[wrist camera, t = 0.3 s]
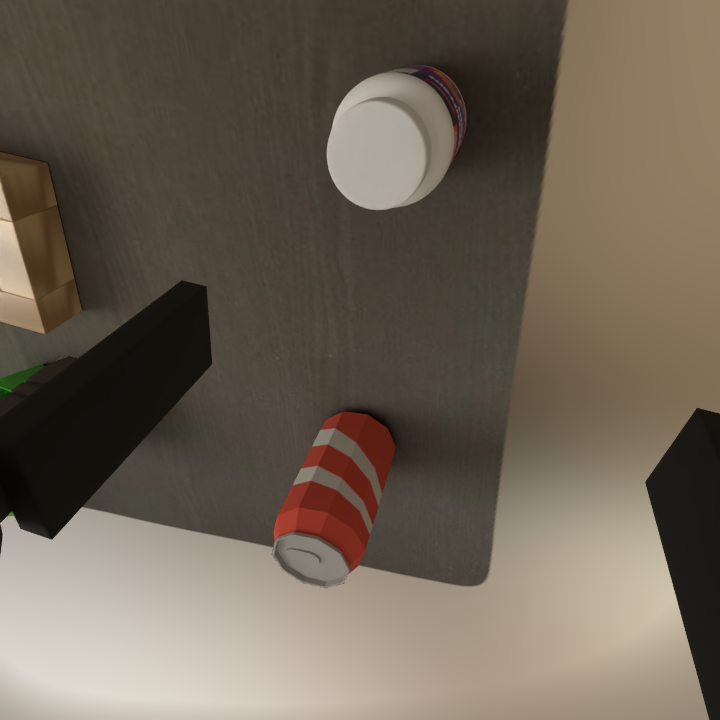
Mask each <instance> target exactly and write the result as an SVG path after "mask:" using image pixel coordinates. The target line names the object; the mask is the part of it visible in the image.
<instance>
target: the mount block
mask: <svg viewBox="0 0 720 720" xmlns="http://www.w3.org/2000/svg"><path fill="white" fill-rule="evenodd" d="M81 311H82V309H81V304H80V300H79V296H78V292H77V287H76V283H75V279H74V275H73V271H72V266H71V262H70V258H69V253H68V249H67V245H66V240H65V236H64V232H63V227H62V223H61V219H60V215H59V210H58V206H57V201H56V197H55V193H54V188H53V184H52V180H51V176H50V171H49V167H48V163H46V162H41V161H37V160H33V159H28V158H24V157H20V156H15V155H11V154H7V153H2V152H0V321H1V322H5V323H8V324H12V325H15V326H19V327H22V328H26V329H29V330H33V331H36V332H40V333H43V334H46V333H48V332H50V331H51V330H53V329H54V328H56V327H57V326H59V325H60V324H62V323H64V322H65V321H67V320H68V319H70V318H71V317H73V316H75V315H76V314H78V313H79V312H81Z"/></svg>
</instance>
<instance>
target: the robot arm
mask: <svg viewBox="0 0 720 720" xmlns="http://www.w3.org/2000/svg"><path fill="white" fill-rule="evenodd" d="M211 365H212V355H211V342H210V328H209V315H208V301H207V287H206V286H203V285H199V284H195V283H191V282H186V281H180V282H179V283H178V284H176V285H175V286H174V287H172V288H171V289H170V290H169V291H167V292H166V293H165V294H163V295H162V296H161V297H159V298H158V299H157V300H155V301H154V302H153V303H151V304H150V305H149V306H147V307H146V308H145V309H143V310H142V311H141V312H139V313H138V314H137V315H135V316H134V317H133V318H131V319H130V320H129V321H127V322H126V323H125V324H123V325H122V326H121V327H119V328H118V329H117V330H115V331H114V332H113V333H111V334H110V335H109V336H107V337H106V338H105V339H103V340H102V341H101V342H99V343H98V344H97V345H96V346H94V347H93V348H92V349H90V350H89V351H88V352H86V353H85V354H84V355H82V356H81V357H80V358H78V359H77V358H73V357H70V356H68V357H66V358H63V359H61V360H58V361H56V362H54V363H51V364H49V365H46V366H44V367H43V368H42V369H40V370H39V371H37V372H36V373H35V374H33V375H32V376H30V377H29V378H28V379H26V382H25V383H24V382H22V383H21V384H19V385H18V386H16V387H15V388H14V389H12V390H11V393H10V394H8V393H7V394H5V395H4V396H2V397H1V398H0V523H1V522H2V521H3V520H4V519H5V518H6V517H7V516H8V515H9V514H10V513H11V512H13V514H14V516H15V518H16V520H17V522H18V524H19V527H20V528H21V529H23V530H26V531H29V532H31V533H34V534H37V535H40V536H43V537H46V538H49V539H53V538H54V537H55V536H56V535H57V534H58V533H59V531H60V530H61V529H62V528H63V527H64V526H65V525H66V524H67V523H68V522H69V520H70V519H71V518H72V517H73V516H74V515H75V514H76V513H77V512H78V511H79V509H80V508H81V507H82V506H83V505H84V504H85V503H86V502H87V501H88V500H89V499H90V498H91V496H92V495H93V494H94V493H95V492H96V491H97V490H98V489H99V488H100V487H101V485H102V484H103V483H104V482H105V481H106V480H107V479H108V478H109V477H110V476H111V474H112V473H113V472H114V471H115V470H116V469H117V468H118V467H119V466H120V465H121V464H122V462H123V461H124V460H125V459H126V458H127V457H128V456H129V455H130V454H131V453H132V451H133V450H134V449H135V448H136V447H137V446H138V445H139V444H140V443H141V442H142V440H143V439H144V438H145V437H146V436H147V435H148V434H149V433H150V432H151V431H152V429H153V428H154V427H155V426H156V425H157V424H158V423H159V422H160V421H161V420H162V419H163V417H164V416H165V415H166V414H167V413H168V412H169V411H170V410H171V409H172V408H173V406H174V405H175V404H176V403H177V402H178V401H179V400H180V399H181V398H182V397H183V395H184V394H185V393H186V392H187V391H188V390H189V389H190V388H191V387H192V386H193V384H194V383H195V382H196V381H197V380H198V379H199V378H200V377H201V376H202V375H203V374H204V372H205V371H206V370H207V369H208V368H209V367H210V366H211ZM646 487H647V490H648V494H649V498H650V501H651V505H652V509H653V512H654V516H655V520H656V524H657V527H658V531H659V535H660V539H661V542H662V546H663V550H664V553H665V557H666V561H667V564H668V568H669V572H670V575H671V579H672V583H673V587H674V590H675V594H676V597H677V601H678V605H679V609H680V612H681V616H682V620H683V624H684V627H685V631H686V635H687V639H688V642H689V646H690V650H691V653H692V657H693V661H694V664H695V668H696V671H697V675H698V679H699V682H700V686H701V690H702V694H703V698H704V701H705V705H706V709H707V713H708V716H709V720H720V414H719V413H715V412H711V411H707V410H702V409H699V408H697V409H696V410H695V412H694V413H693V415H692V416H691V417H690V419H689V420H688V422H687V423H686V425H685V426H684V427H683V429H682V430H681V432H680V433H679V435H678V436H677V437H676V439H675V440H674V442H673V443H672V445H671V446H670V447H669V449H668V450H667V452H666V453H665V455H664V456H663V457H662V459H661V460H660V462H659V463H658V465H657V466H656V467H655V469H654V470H653V472H652V473H651V475H650V476H649V478H648V479H647V480H646ZM2 535H3V534H2V529H1V525H0V553H1V544H2Z"/></svg>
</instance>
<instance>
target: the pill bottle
mask: <svg viewBox="0 0 720 720" xmlns="http://www.w3.org/2000/svg"><path fill="white" fill-rule="evenodd" d="M465 130H466V108H465V103H464V100H463V98H462V95H461V93H460V91H459V89H458V87H457V86H456V84H455V83H454V82H453V81H452V80H451V79H450V78H449V77H448V76H447V75H446V74H445V73H443V72H441V71H440V70H438V69H435V68H433V67H429V66H425V65H411V66H405V67H402V68H398V69H395V70H391V71H388V72H384V73H380V74H377V75H374V76H372V77H370V78H368V79H366V80H364V81H362V82H361V83H359V84H358V85H357V86H355V87H354V88H353V89H352V90H351V91H350V92H349V93H348V94H347V95H346V97H345V98H344V99H343V101H342V103H341V104H340V106H339V108H338V110H337V112H336V115H335V118H334V121H333V126H332V131H331V133H330V137H329V140H328V146H327V162H328V168H329V171H330V175H331V177H332V179H333V181H334V183H335V185H336V186H337V188H338V189H339V190H340V192H341V193H342V194H343V195H344V196H345V197H346V198H347V199H349V200H350V201H351V202H353V203H355V204H357V205H359V206H361V207H364V208H367V209H371V210H385V209H390V208H393V207H402V206H406V205H410V204H412V203H415V202H417V201H419V200H421V199H422V198H424V197H425V196H427V195H428V194H429V193H430V192H432V191H433V190H434V189H435V187H436V186H437V185H438V184H439V183H440V181H442V179H443V177H444V176H445V174H446V172H447V170H448V168H449V166H450V164H451V162H452V161H453V159H454V157H455V155H456V153H457V152H458V150H459V148H460V146H461V144H462V141H463V138H464V135H465Z"/></svg>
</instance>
